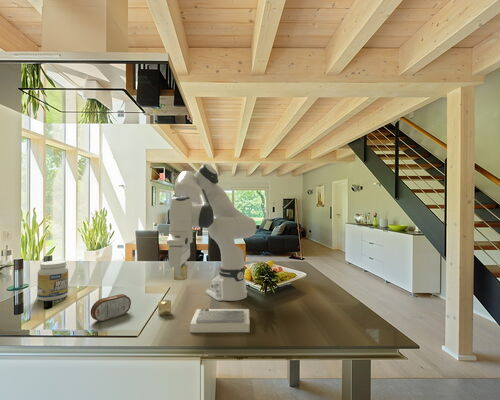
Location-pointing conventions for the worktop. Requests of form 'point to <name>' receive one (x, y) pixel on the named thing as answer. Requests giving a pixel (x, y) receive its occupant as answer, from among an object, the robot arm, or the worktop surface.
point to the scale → (220, 320)
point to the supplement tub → (52, 280)
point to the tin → (110, 307)
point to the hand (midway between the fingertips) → (180, 273)
